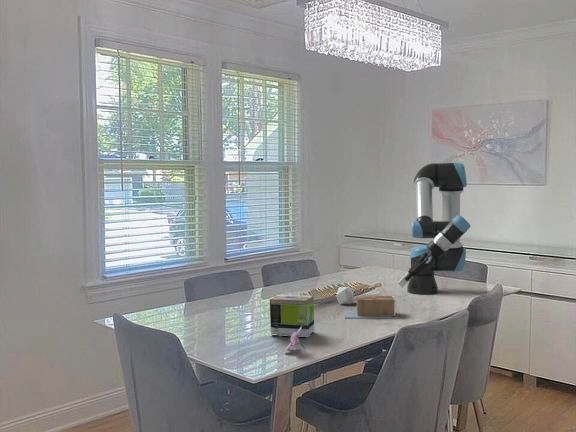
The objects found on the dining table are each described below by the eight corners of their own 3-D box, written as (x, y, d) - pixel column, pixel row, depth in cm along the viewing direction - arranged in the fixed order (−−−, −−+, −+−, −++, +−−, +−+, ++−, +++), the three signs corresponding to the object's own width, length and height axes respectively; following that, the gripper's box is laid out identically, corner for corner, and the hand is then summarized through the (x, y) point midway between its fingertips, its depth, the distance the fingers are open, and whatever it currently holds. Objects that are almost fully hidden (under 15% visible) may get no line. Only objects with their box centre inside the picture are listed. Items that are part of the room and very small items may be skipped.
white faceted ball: (348, 308, 274) (358, 290, 276) (332, 298, 275) (342, 280, 278) (347, 310, 282) (356, 292, 284) (331, 301, 283) (341, 283, 286)
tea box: (314, 332, 234) (314, 294, 233) (307, 339, 225) (306, 300, 223) (278, 329, 239) (278, 293, 238) (270, 336, 230) (269, 298, 228)
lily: (296, 346, 219) (284, 327, 217) (320, 339, 213) (307, 319, 212) (284, 365, 210) (271, 344, 208) (308, 357, 204) (295, 336, 202)
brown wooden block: (393, 311, 261) (356, 311, 262) (393, 295, 261) (356, 296, 262) (395, 315, 254) (357, 315, 255) (395, 299, 254) (357, 299, 255)
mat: (343, 311, 265) (343, 310, 265) (389, 311, 264) (389, 310, 264) (344, 318, 253) (344, 317, 253) (392, 318, 252) (392, 317, 252)
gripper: (448, 254, 247) (408, 294, 250) (442, 249, 260) (404, 287, 263) (435, 241, 247) (395, 282, 250) (430, 237, 260) (392, 276, 263)
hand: (400, 285), depth 257 cm, fingers closed
